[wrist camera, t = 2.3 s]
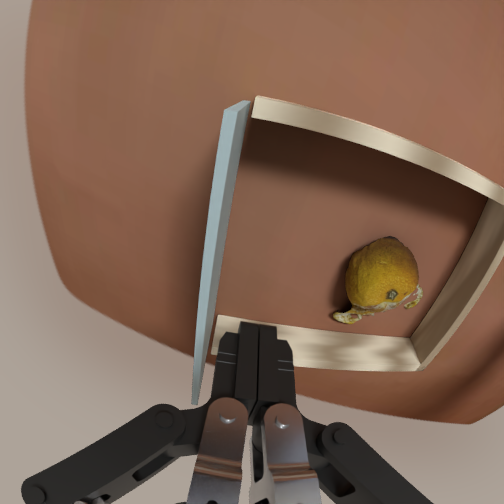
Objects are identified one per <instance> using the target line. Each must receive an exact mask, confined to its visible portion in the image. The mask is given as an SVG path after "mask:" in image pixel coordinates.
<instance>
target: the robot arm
mask: <svg viewBox="0 0 504 504" xmlns="http://www.w3.org/2000/svg"><path fill="white" fill-rule="evenodd" d="M247 425H251V426H253V431H252V437H251V438H250V464H251V487H250V491H249V504H322V503H321V496H320V489H321V490H323V492H324V493H325V494H326V495H327V496H328V497H329V498H330V499H331V500H332V501H333V502H334V503H336V504H433V503H432V502H431V501H430V500H428V499H427V498H426V497H425V496H424V495H423V494H422V493H420V492H419V491H418V490H417V489H416V488H415V487H414V486H413V485H411V484H410V483H409V482H408V481H407V480H406V479H405V478H404V477H402V476H401V475H400V474H399V473H398V472H397V471H396V470H395V469H394V468H392V466H390V465H389V464H388V463H387V462H386V461H385V460H384V459H383V458H382V457H381V456H380V455H379V454H378V453H377V452H376V451H375V450H374V449H373V448H371V447H370V446H369V445H368V444H367V443H366V442H365V441H364V440H363V439H362V438H361V437H360V436H359V435H358V434H357V433H356V432H355V431H354V430H353V429H352V428H351V427H349V426H348V425H347V424H345V423H341V422H335V423H331V424H329V425H328V426H326V425H323V424H320V423H316V422H314V421H311V420H308V419H307V418H305V417H304V416H303V415H302V414H301V413H300V411H299V410H298V408H297V405H296V394H295V379H294V365H293V351H292V349H291V347H290V345H289V343H288V341H287V340H281V339H277V327H276V326H271V325H264V324H257V323H251V322H244V321H240V324H239V328H238V333H233V332H227V331H226V332H225V334H224V335H223V336H222V338H221V339H220V341H219V347H218V352H217V358H216V364H215V372H214V378H213V385H212V393H211V398H210V399H209V401H208V402H207V403H206V404H204V405H203V406H201V407H199V408H195V409H187V410H179V409H178V408H176V407H174V406H172V405H169V404H158V405H155V406H153V407H151V408H150V409H148V410H146V411H145V412H143V413H142V414H140V415H139V416H137V417H135V418H134V419H132V420H131V421H129V422H128V423H126V424H124V425H123V426H121V427H120V428H118V429H116V430H115V431H113V432H111V433H110V434H108V435H106V436H105V437H103V438H102V439H100V440H98V441H96V442H95V443H93V444H91V445H89V446H88V447H86V448H84V449H82V450H81V451H79V452H77V453H76V454H73V455H72V456H70V457H68V458H66V459H64V460H63V461H61V462H59V463H57V464H55V465H53V466H51V467H49V468H47V469H45V470H43V471H42V472H39V473H38V474H35V475H33V476H31V477H29V478H27V479H26V480H25V481H24V482H23V484H22V488H21V493H22V497H23V500H24V501H25V503H26V504H111V503H112V502H114V501H116V500H117V499H119V498H121V497H122V496H124V495H125V494H126V493H129V492H130V491H132V490H133V489H135V488H136V487H137V486H139V485H141V484H142V483H144V482H145V481H147V480H148V479H150V478H151V477H153V476H154V475H156V474H157V473H158V472H160V471H161V470H163V469H164V468H166V467H167V466H168V465H170V464H171V463H172V462H174V461H175V460H176V459H178V458H179V457H181V456H189V455H197V454H198V456H197V460H196V463H195V467H194V471H193V476H192V481H191V485H190V489H189V493H188V498H187V502H181V503H176V504H238V502H239V495H240V489H241V482H242V469H241V465H242V458H243V451H244V444H245V436H246V430H247ZM319 488H320V489H319Z"/></svg>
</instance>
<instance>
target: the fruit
mask: <svg viewBox="0 0 504 504" xmlns="http://www.w3.org/2000/svg"><path fill="white" fill-rule="evenodd" d="M345 278H346V279H345V285H346V287H345V289H346V291H347V296H348V298H349V300H350V301H351V303H352V308H351V310H350V311H348V312H346V313H338V311H339V310H337V311H336V312H335V313H333V317H334V318H335V319H336V320H338V321H340V322H343V323H348V324H353V323H354V322H355V321H358V320H359V319H361V318H362V315H372V316H374V312H385V311H387V310H388V309H394V308H396V307H397V306H398V305H400V304H402V303H403V302H404V301H405V300H406V298H408V297H409V296H410V294H411V293H412V292H413V291H414V290H415V289H416V288H418V292H417V293H416V294H418V296H417V299H416V300H414V301H412V302H409V303H407V304H406V305H404V307H405V308H407V309H408V308H411V307H414V306H415V305H417V303H418V302H419V301H420V299H421V297H422V296H423V291H422V288H421V287H419V284H418V279H419V275H418V267H417V263H416V260H415V259H414V256H413V254H412V252H411V251H410V250H409V249H408V247H405V246H404V245H403V244H402V243H401V242H400V241H399V240H398V239H397V238H395V237H392V236H388V237H384V238H382V239H381V238H380V239H378V240H377V241H376V242H373V243H371V244H370V245H369V246H365V247H364V248H363V249H362V250H359V251H356V252H355V253H353V255H352V256H351V260H350V262H349V267H348V269H347V271H346V277H345ZM414 295H415V294H414ZM350 314H358V315H357V316H358V318H357V319H356V318H352V317H351V315H350Z"/></svg>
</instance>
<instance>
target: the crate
mask: <svg viewBox="0 0 504 504" xmlns="http://www.w3.org/2000/svg"><path fill="white" fill-rule="evenodd" d="M252 117H253V118H258V119H263V120H268V121H273V122H278V123H283V124H287V125H292V126H296V127H300V128H304V129H308V130H312V131H316V132H320V133H324V134H327V135H331V136H335V137H338V138H342V139H345V140H348V141H352V142H355V143H358V144H361V145H364V146H368V147H371V148H374V149H377V150H380V151H382V152H385V153H388V154H391V155H394V156H396V157H399V158H402V159H404V160H407V161H410V162H412V163H415V164H417V165H420V166H422V167H425V168H427V169H430V170H432V171H434V172H437V173H439V174H441V175H444V176H446V177H448V178H450V179H452V180H455V181H457V182H459V183H461V184H463V185H465V186H467V187H469V188H471V189H473V190H475V191H477V192H479V193H481V194H483V195H485V196H487V197H489V198H488V200H487V203H486V205H485V207H484V210H483V212H482V214H481V217H480V219H479V221H478V223H477V226H476V228H475V230H474V232H473V234H472V236H471V238H470V240H469V242H468V244H467V246H466V248H465V250H464V252H463V254H462V256H461V258H460V260H459V262H458V263H457V265H456V267H455V269H454V271H453V272H452V274H451V276H450V278H449V279H448V281H447V283H446V284H445V286H444V288H443V289H442V291H441V293H440V294H439V296H438V298H437V299H436V301H435V302H434V304H433V305H432V307H431V308H430V310H429V312H428V313H427V315H426V316H425V317H424V319H423V320H422V322H421V323H420V325H419V326H418V328H417V329H416V330H415V332H414V333H413V335H412V336H411V337H410V338H403V337H388V336H376V335H364V334H354V333H344V332H334V331H326V330H317V329H309V328H301V327H294V326H286V325H279V324H273V323H266V322H260V321H253V320H247V319H241V318H235V317H229V316H224V315H218V317H217V323H216V328H215V333H214V339H213V344H212V351H211V354H213V355H217V352H218V347H219V341H220V339H221V338H222V336H223V335H224V334H225V332H226V331H227V332H233V333H238V328H239V324H240V321H244V322H251V323H257V324H264V325H271V326H276V327H277V339H281V340H287V341H288V343H289V345H290V347H291V349H292V351H293V365H294V366H299V367H310V368H323V369H338V370H358V371H423V370H424V369H425V367H426V366H427V365H428V364H429V363H430V362H431V361H432V359H433V358H434V357H435V356H436V355H437V354H438V352H439V351H440V350H441V349H442V347H443V346H444V345H445V344H446V342H447V341H448V340H449V339H450V337H451V336H452V335H453V333H454V332H455V331H456V330H457V328H458V327H459V325H460V324H461V323H462V321H463V320H464V319H465V317H466V316H467V314H468V313H469V311H470V310H471V309H472V307H473V306H474V304H475V303H476V301H477V300H478V298H479V297H480V295H481V293H482V292H483V290H484V289H485V287H486V285H487V284H488V282H489V280H490V279H491V277H492V275H493V274H494V272H495V270H496V268H497V267H498V265H499V263H500V261H501V259H502V258H503V256H504V188H503V187H501V186H500V185H498V184H496V183H495V182H493V181H491V180H490V179H488V178H486V177H484V176H483V175H481V174H479V173H477V172H475V171H474V170H472V169H470V168H468V167H466V166H464V165H462V164H460V163H458V162H456V161H454V160H452V159H450V158H448V157H446V156H444V155H442V154H440V153H438V152H436V151H433V150H431V149H429V148H427V147H425V146H422V145H420V144H418V143H415V142H413V141H411V140H408V139H406V138H403V137H401V136H398V135H396V134H393V133H390V132H388V131H385V130H382V129H380V128H377V127H374V126H371V125H368V124H365V123H362V122H359V121H356V120H353V119H350V118H347V117H343V116H340V115H337V114H333V113H330V112H326V111H323V110H319V109H315V108H311V107H307V106H303V105H299V104H295V103H291V102H286V101H282V100H277V99H272V98H267V97H262V96H256V97H255V102H254V107H253V112H252Z"/></svg>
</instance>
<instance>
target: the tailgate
mask: <svg viewBox="0 0 504 504" xmlns="http://www.w3.org/2000/svg"><path fill="white" fill-rule="evenodd" d="M250 103H251V101H245V100H243V101H241V102H239V103H237V104H235V105H233V106H231V107H229V108H227V109H225V110H224V115H223V120H222V126H221V132H220V138H219V144H218V151H217V157H216V163H215V170H214V177H213V184H212V191H211V198H210V205H209V213H208V221H207V229H206V237H205V245H204V254H203V263H202V272H201V282H200V292H199V302H198V314H197V325H196V338H195V352H194V366H193V384H192V385H193V386H192V403H191V404H194V405H197V404H198V399H199V393H200V388H201V382H202V377H203V372H204V366H205V361H206V356H207V351H208V345H209V340H210V335H211V330H212V325H213V319H214V312H215V305H216V299H217V292H218V285H219V279H220V272H221V266H222V259H223V253H224V247H225V241H226V235H227V229H228V223H229V217H230V211H231V205H232V199H233V193H234V188H235V182H236V176H237V171H238V165H239V160H240V154H241V149H242V144H243V138H244V133H245V128H246V123H247V118H248V113H249V108H250Z"/></svg>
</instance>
